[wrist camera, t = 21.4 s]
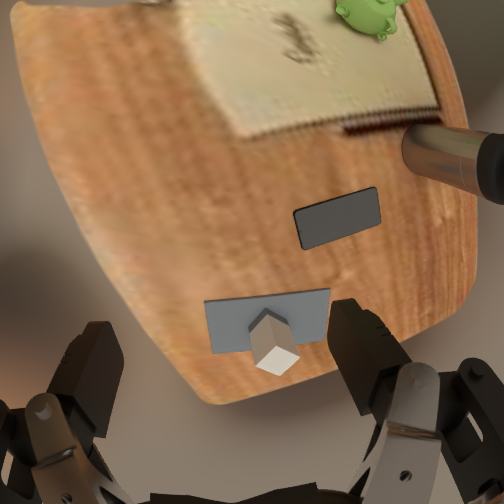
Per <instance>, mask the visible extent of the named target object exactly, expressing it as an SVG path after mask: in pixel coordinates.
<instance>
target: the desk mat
mask: <svg viewBox="0 0 504 504" xmlns="http://www.w3.org/2000/svg"><path fill="white" fill-rule="evenodd" d="M329 298H330V288H323V289H315V290H307V291H299V292H290V293H281V294H272V295H263V296H253V297H243V298H232V299H221V300H210V301H204V304H205V310H206V317H207V323H208V329H209V334H210V340H211V346H212V351H213V354H218V353H230V352H241V351H250V350H252V346H251V340H250V335H249V329H248V326H249V325H250V324H251V323H252V322H253V321H254V320H255V318H256V317H257V316H258V315H259V314H260V313H261V312H262V311H263V309H264V308H265V307H266V308H267V309H269V310H271V311H273V312H274V313H276V314H278V315H280V316H282V317H284V318H285V319H287V321H288V324H289V327H290V330H291V332H292V335H293V338H294V341H295V343H296V345H297V344H303V343H310V342H316V341H322V340H324V337H325V330H326V323H327V315H328V307H329Z"/></svg>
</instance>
